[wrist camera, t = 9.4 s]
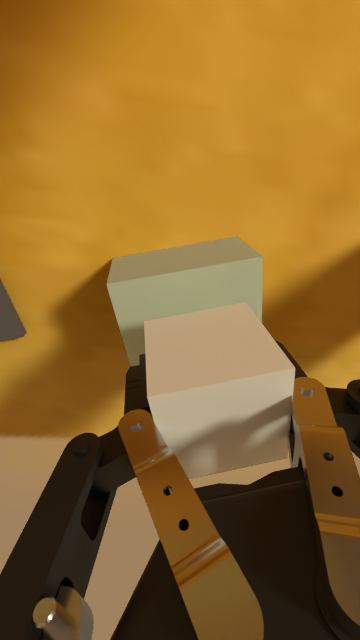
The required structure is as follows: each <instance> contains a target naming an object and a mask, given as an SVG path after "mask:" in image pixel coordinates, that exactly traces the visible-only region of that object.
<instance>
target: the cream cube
mask: <svg viewBox="0 0 360 640" xmlns="http://www.w3.org/2000/svg"><path fill="white" fill-rule="evenodd" d="M144 333H145V357H146V380H147V399H148V402H149V406H150V409H151V413H152V417H153V420H154V423H155V424H156V426H157V428H158V430H159V431H160V433H161V435H162V437H163V439H164V441H165V443H166V444H167V446H168V448H169V450H172V451H173V452H174V454H175V455H176V457H177V459H178V461H179V463H180V464H181V466H182V468H183V470H184V472H185V474H186V475H187V477H188V479H192V478H197V477H202V476H206V475H211V474H216V473H221V472H225V471H230V470H235V469H239V468H244V467H248V466H253V465H258V464H263V463H268V462H272V461H277V460H282V459H286V458H287V455H288V441H287V435H288V431H290V422H291V406H290V402H291V395H293V389H294V378H295V367H294V366H293V364H292V363H291V362H290V360H289V359H288V358H287V356H286V355H285V354H284V352H283V351H282V350H281V348H280V347H279V346H278V344H277V343H276V342H275V340H274V339H273V338H272V336H271V335H270V334H269V332H268V331H267V330H266V328H265V327H264V326H263V324H262V323H261V322H260V320H259V319H258V318H257V316H256V315H255V314H254V312H253V311H252V310H251V308H250V307H249V306H248V304H247V303H246V302H243V303H238V304H233V305H227V306H222V307H217V308H211V309H206V310H201V311H195V312H190V313H185V314H179V315H174V316H169V317H163V318H158V319H153V320H147V321H144Z"/></svg>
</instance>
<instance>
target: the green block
mask: <svg viewBox="0 0 360 640" xmlns="http://www.w3.org/2000/svg"><path fill="white" fill-rule="evenodd" d="M262 270H263V256H261V255H260V254H259V253H258V252H256V251H255V250H254V249H253V248H251V247H250V246H249V245H248V244H246V243H245V242H244V241H242V240H241V239H240V238H239V237H231V238H225V239H219V240H214V241H208V242H202V243H197V244H191V245H185V246H179V247H174V248H168V249H162V250H156V251H151V252H145V253H139V254H134V255H128V256H122V257H116V258H113V259H112V263H111V267H110V272H109V276H108V280H107V284H106V285H107V288H108V292H109V295H110V299H111V302H112V305H113V309H114V312H115V316H116V319H117V322H118V326H119V329H120V333H121V336H122V339H123V343H124V346H125V350H126V353H127V357H128V360H129V363H130V367H131V366H136V365H139V355H140V354H145V333H144V321H147V320H153V319H158V318H163V317H169V316H174V315H179V314H185V313H190V312H195V311H201V310H206V309H211V308H217V307H222V306H227V305H233V304H238V303H243V302H246V303H247V304H248V306H249V307H250V308H251V310H252V311H253V312H254V314H255V315H256V316H257V318H258V319H259V320H260V322H261V323H262Z"/></svg>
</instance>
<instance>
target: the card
mask: <svg viewBox="0 0 360 640" xmlns="http://www.w3.org/2000/svg"><path fill="white" fill-rule="evenodd" d="M25 333H26V330H25V328H24V326H23V324H22V322H21V320H20V318H19V316H18V314H17V312H16V310H15V308H14V306H13V304H12V302H11V300H10V298H9V296H8V294H7V292H6V290H5V288H4V286H3V284H2V282H1V280H0V341H3V340H9V339H14V338H20V337H23V336H24V335H25Z"/></svg>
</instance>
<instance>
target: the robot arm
mask: <svg viewBox="0 0 360 640" xmlns="http://www.w3.org/2000/svg"><path fill="white" fill-rule="evenodd" d="M275 342H276V343H277V344H278V346H279V347H280V348H281V350H282V351H283V352H284V354H285V355H286V356H287V358H288V359H289V360H290V362H291V363H292V364H293V366H294V367H295V378H294V389H293V395H291V402H290V406H291V422H290V431H288V435H287V441H288V449H289V457H290V464H291V468H289V469H285V470H280V471H275V472H272V473H270V474H268V475H267V476H264V477H263V478H261V479H259V480H257V481H255V482H253V483H251V484H249V485H238V484H214V485H209V486H204V487H200V488H195V489H194V488H193V486H192V484H191V483H190V481H189V479H188V477H187V475H186V474H185V472H184V470H183V468H182V466H181V464H180V463H179V461H178V459H177V457H176V455H175V454H174V452H173V451H172V450H169V448H168V446H167V444H166V443H165V441H164V439H163V437H162V435H161V433H160V431H159V430H158V428H157V426H156V424H155V423H154V420H153V417H152V413H151V409H150V406H149V402H148V399H147V380H146V357H145V354H140V355H139V365H136V366H131V367H130V368H129V370H128V372H127V374H126V387H125V389H126V390H125V407H124V416H123V417H122V418H121V419H120V421H119V424H118V426H117V427H116V428H115V429H114V430H112V431H110V432H108V433H106V434H104V435H102V436H100V437H98V436H97V435H95V434H93V433H83V434H80V435H78V436H76V437H75V438H73V439H72V440H71V441H70V442H69V443H68V444H67V446H66V448H65V449H64V451H63V453H62V455H61V457H60V459H59V461H58V463H57V465H56V467H55V469H54V471H53V473H52V475H51V477H50V479H49V481H48V482H47V484H46V486H45V488H44V490H43V492H42V494H41V496H40V498H39V500H38V502H37V504H36V506H35V508H34V510H33V512H32V514H31V516H30V517H29V520H28V522H27V523H26V525H25V527H24V529H23V531H22V533H21V535H20V537H19V539H18V541H17V543H16V545H15V547H14V549H13V551H12V553H11V555H10V556H9V558H8V560H7V562H6V564H5V566H4V568H3V570H2V572H1V574H0V640H91V639H92V632H93V623H94V622H93V614H92V611H91V608H90V606H89V605H88V604H87V603H86V601H85V600H84V596H85V593H86V590H87V586H88V583H89V580H90V576H91V573H92V570H93V566H94V563H95V560H96V557H97V553H98V550H99V547H100V543H101V540H102V537H103V533H104V530H105V527H106V523H107V520H108V517H109V513H110V510H111V507H112V504H113V500H114V497H115V494H116V490H117V487H119V486H121V485H123V484H125V483H126V482H128V481H130V480H132V479H133V478H135V477H136V478H137V480H138V483H139V486H140V488H141V491H142V494H143V496H144V499H145V501H146V504H147V507H148V509H149V512H150V515H151V517H152V520H153V523H154V525H155V528H156V530H157V533H158V536H159V538H160V540H159V542H158V544H157V546H156V548H155V550H154V552H153V554H152V556H151V558H150V560H149V562H148V564H147V566H146V568H145V570H144V572H143V574H142V576H141V578H140V580H139V582H138V585H137V587H136V588H135V590H134V592H133V594H132V596H131V599H130V601H129V603H128V605H127V607H126V609H125V611H124V613H123V615H122V617H121V619H120V621H119V623H118V625H117V627H116V629H115V631H114V633H113V635H112V637H111V639H110V640H360V477H359V474H358V471H357V467H356V464H355V461H354V458H353V455H352V452H353V453H354V454H355V455H356V456H358V457H359V458H360V379H359V380H353V381H351V382H350V383H349V384H348V385H347V389H340V388H327V387H324V385H323V384H322V383H321V382H319V381H318V380H316V379H313V378H309V377H307V375H306V374H305V373H304V372H303V370H302V369H301V368H300V366H299V365H298V364H297V362H296V361H295V360H294V359H293V358H292V356H291V355H290V353H288V351H287V350H286V348H285V347H284V346H283V344H281V343H279V342H278V341H276V340H275ZM351 451H352V452H351Z"/></svg>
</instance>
